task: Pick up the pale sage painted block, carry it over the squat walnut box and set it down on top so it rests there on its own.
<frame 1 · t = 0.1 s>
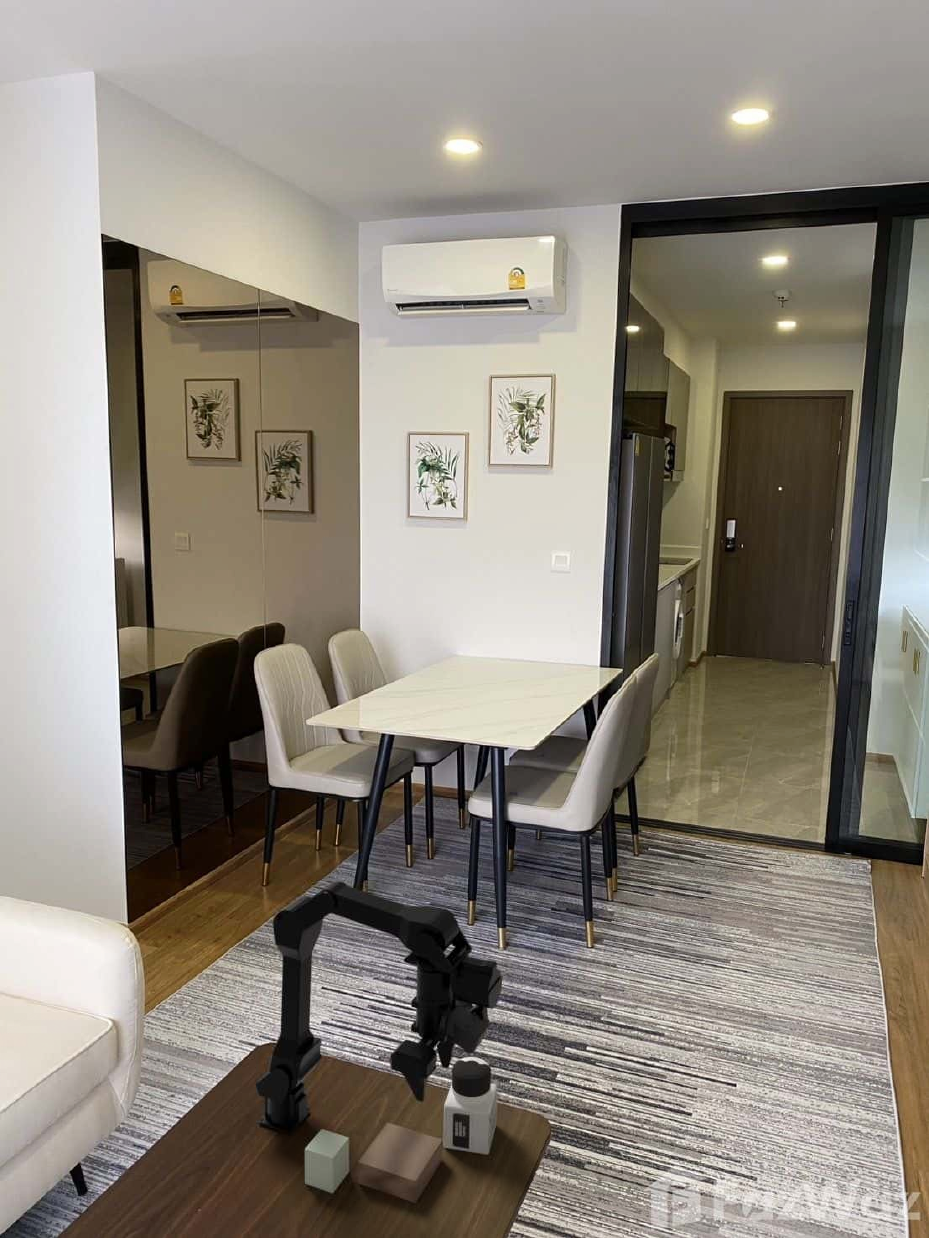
hand: (433, 1083, 147), 15 cm above the table, fingers open, 9 cm apart
sage block: (327, 1177, 146), on the table
walnut box: (400, 1173, 148), on the table
container: (470, 1137, 156), on the table
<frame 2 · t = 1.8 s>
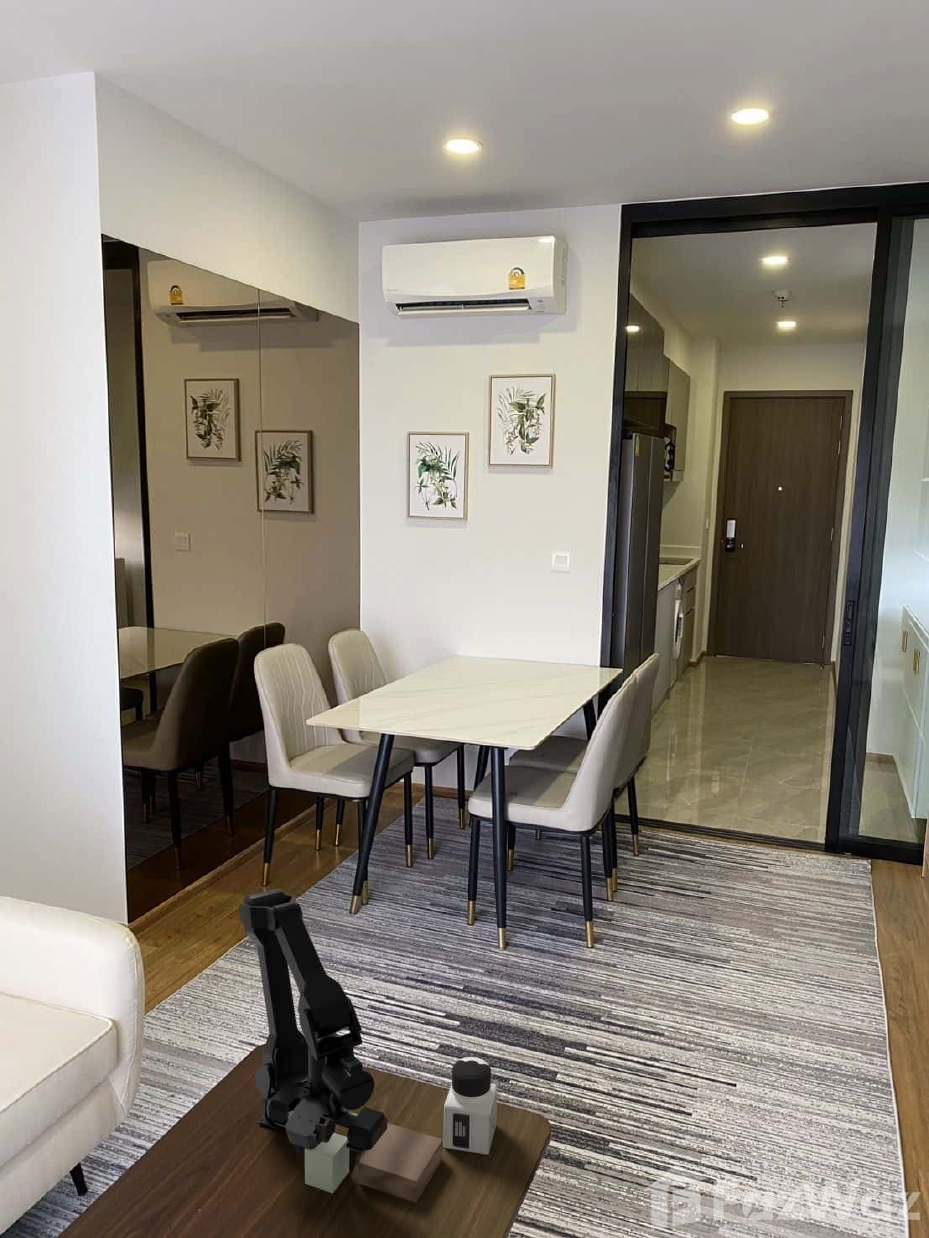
hand: (327, 1164, 146), 2 cm above the table, fingers open, 9 cm apart
walnut box: (401, 1173, 148), on the table, touching gripper
everything else where it was.
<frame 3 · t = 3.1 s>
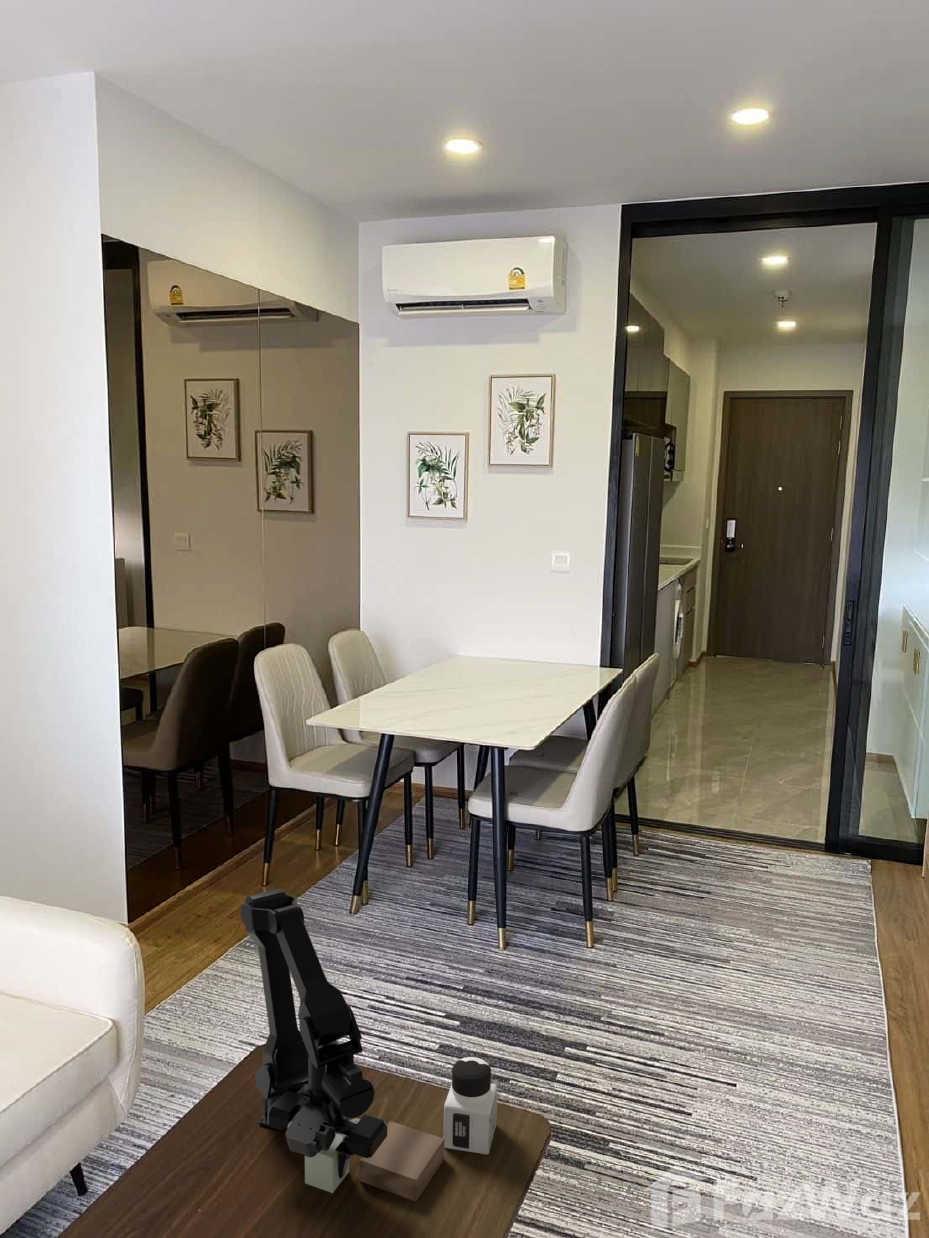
hand: (327, 1171, 146), 1 cm above the table, fingers closed on sage block, 5 cm apart
sage block: (327, 1177, 146), on the table, touching gripper
walnut box: (402, 1171, 148), on the table
everything else where it was.
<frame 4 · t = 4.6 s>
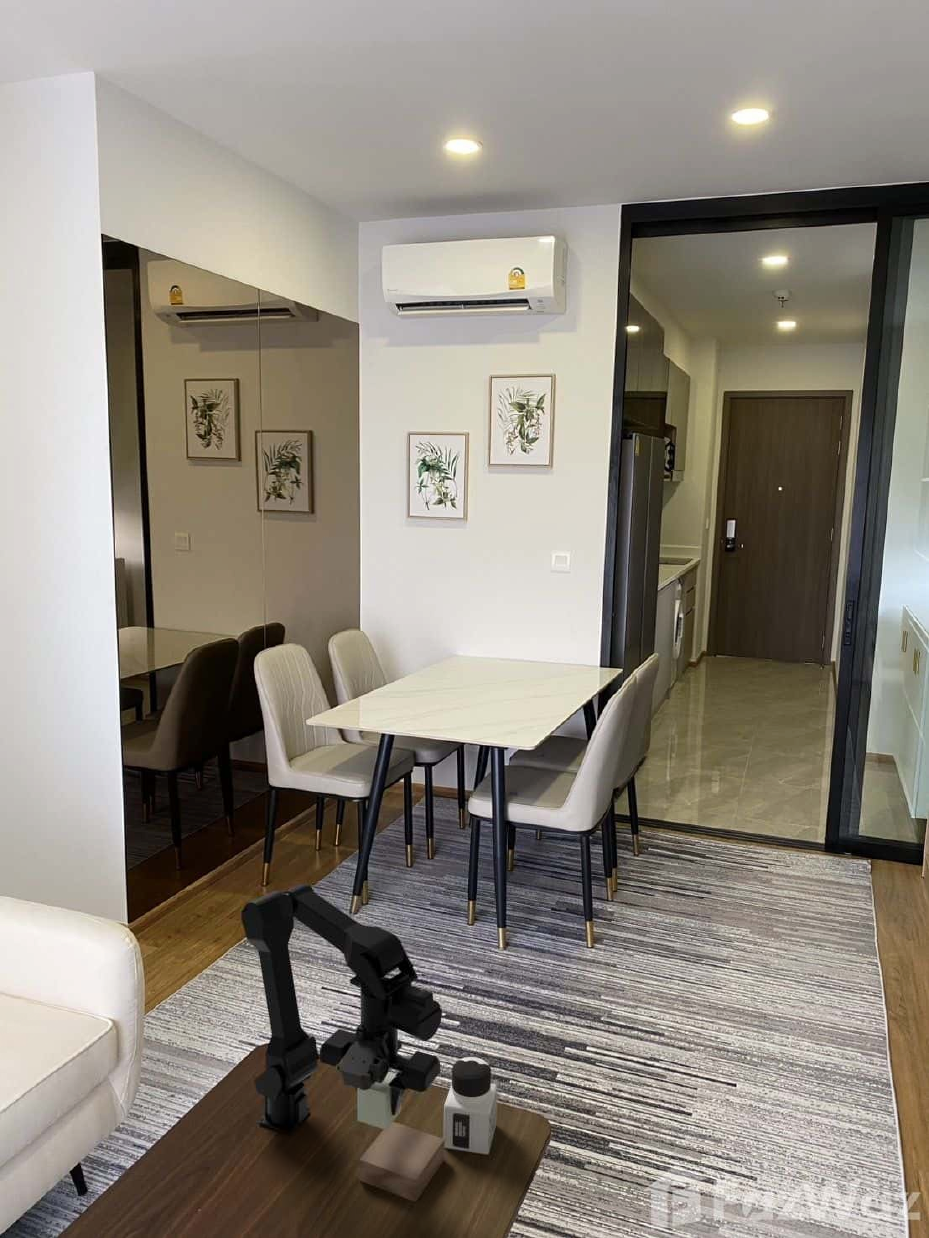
hand: (379, 1109, 145), 11 cm above the table, fingers closed on sage block, 5 cm apart
sage block: (379, 1115, 145), point 10 cm above the table, touching gripper
everything else where it was.
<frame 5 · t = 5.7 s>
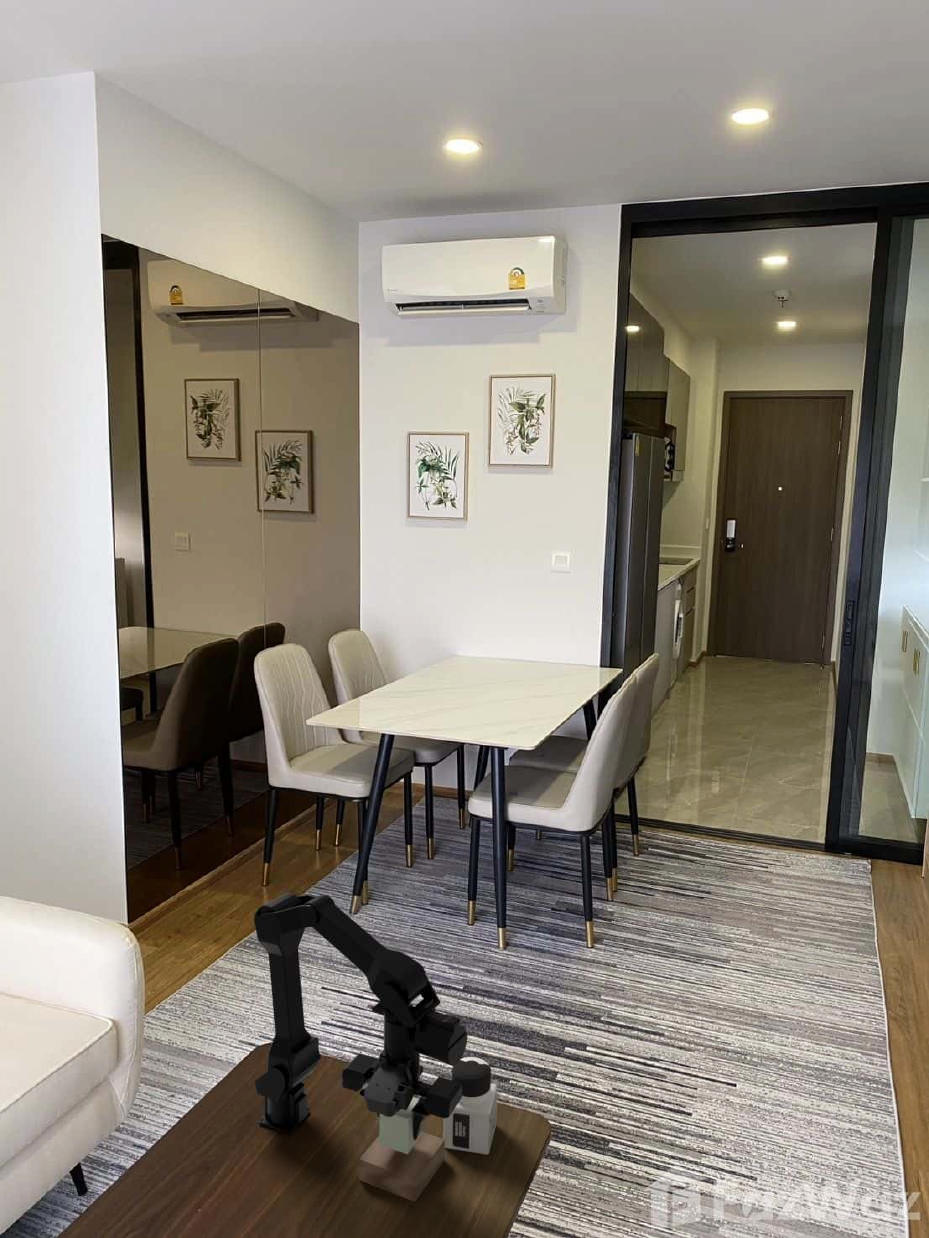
hand: (400, 1133, 147), 7 cm above the table, fingers closed on sage block, 5 cm apart
sage block: (400, 1139, 147), point 6 cm above the table, touching gripper
everything else where it was.
when the fingers open (6 cm above the table, at t = 6.4 s): sage block drops 2 cm, resting on walnut box.
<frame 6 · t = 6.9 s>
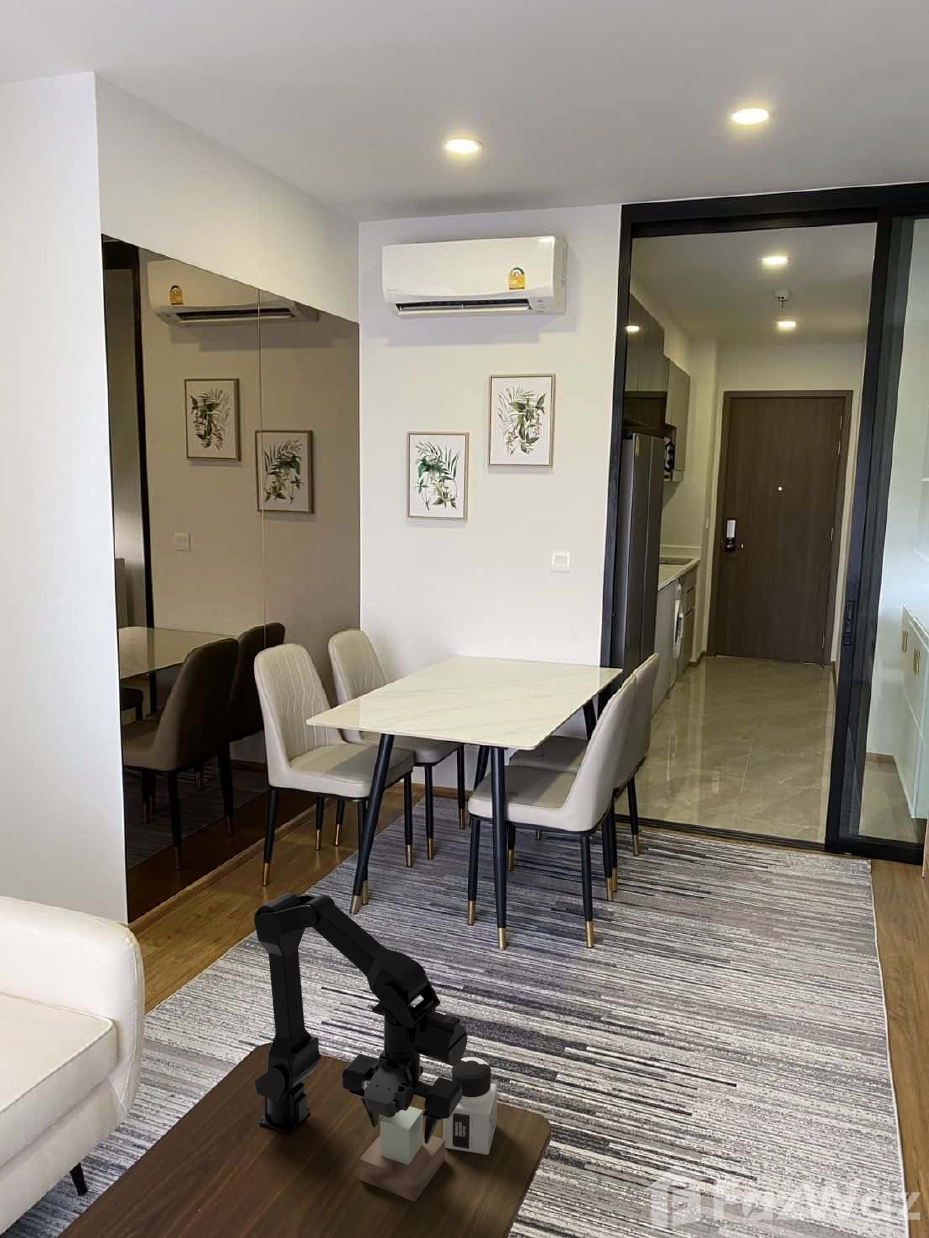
hand: (401, 1133, 147), 6 cm above the table, fingers open, 9 cm apart
sage block: (401, 1149, 147), point 4 cm above the table, touching walnut box
walnut box: (402, 1171, 148), on the table, touching sage block
everything else where it was.
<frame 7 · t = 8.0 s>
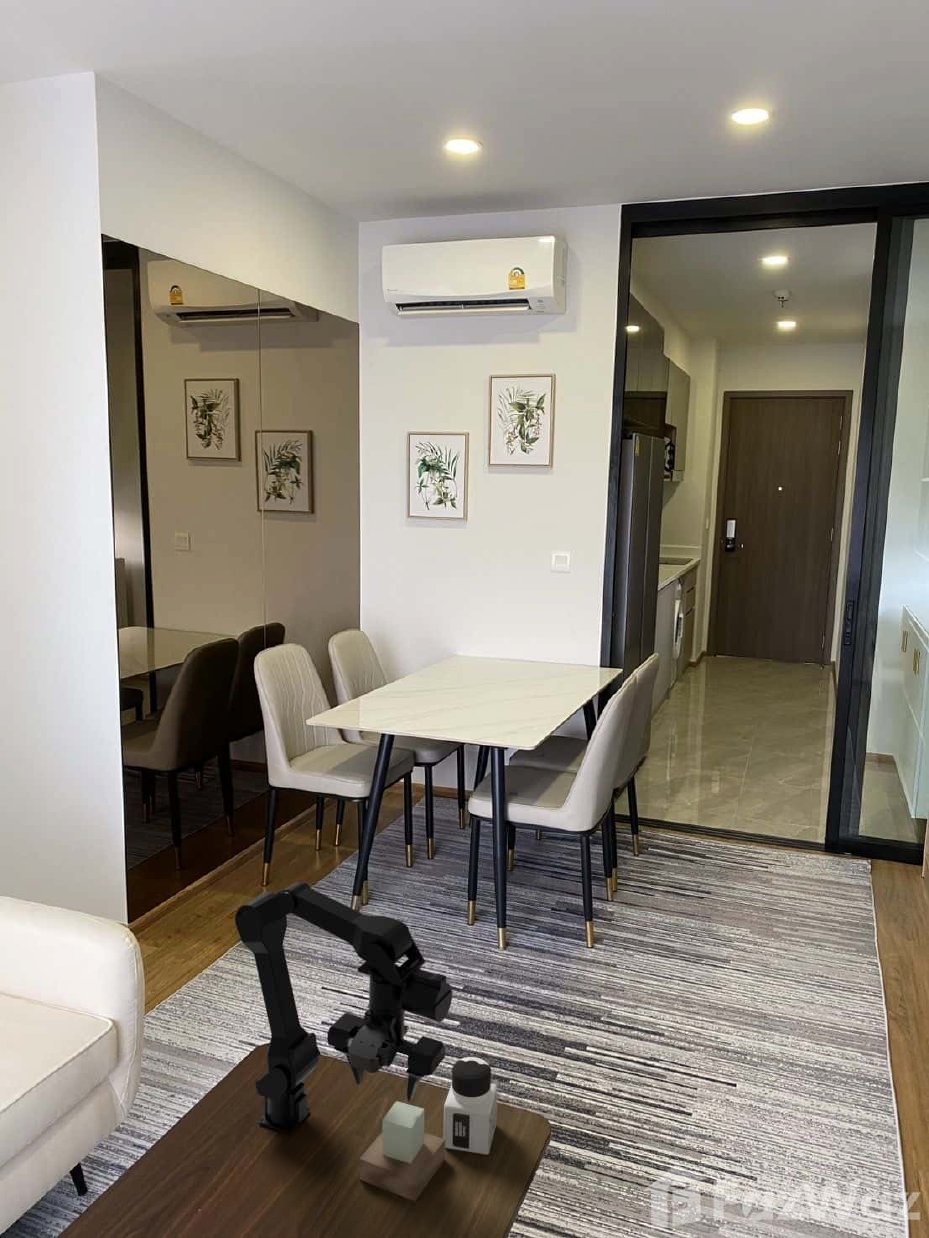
hand: (384, 1091, 149), 12 cm above the table, fingers open, 9 cm apart
sage block: (403, 1148, 148), point 4 cm above the table
walnut box: (402, 1171, 148), on the table
everything else where it was.
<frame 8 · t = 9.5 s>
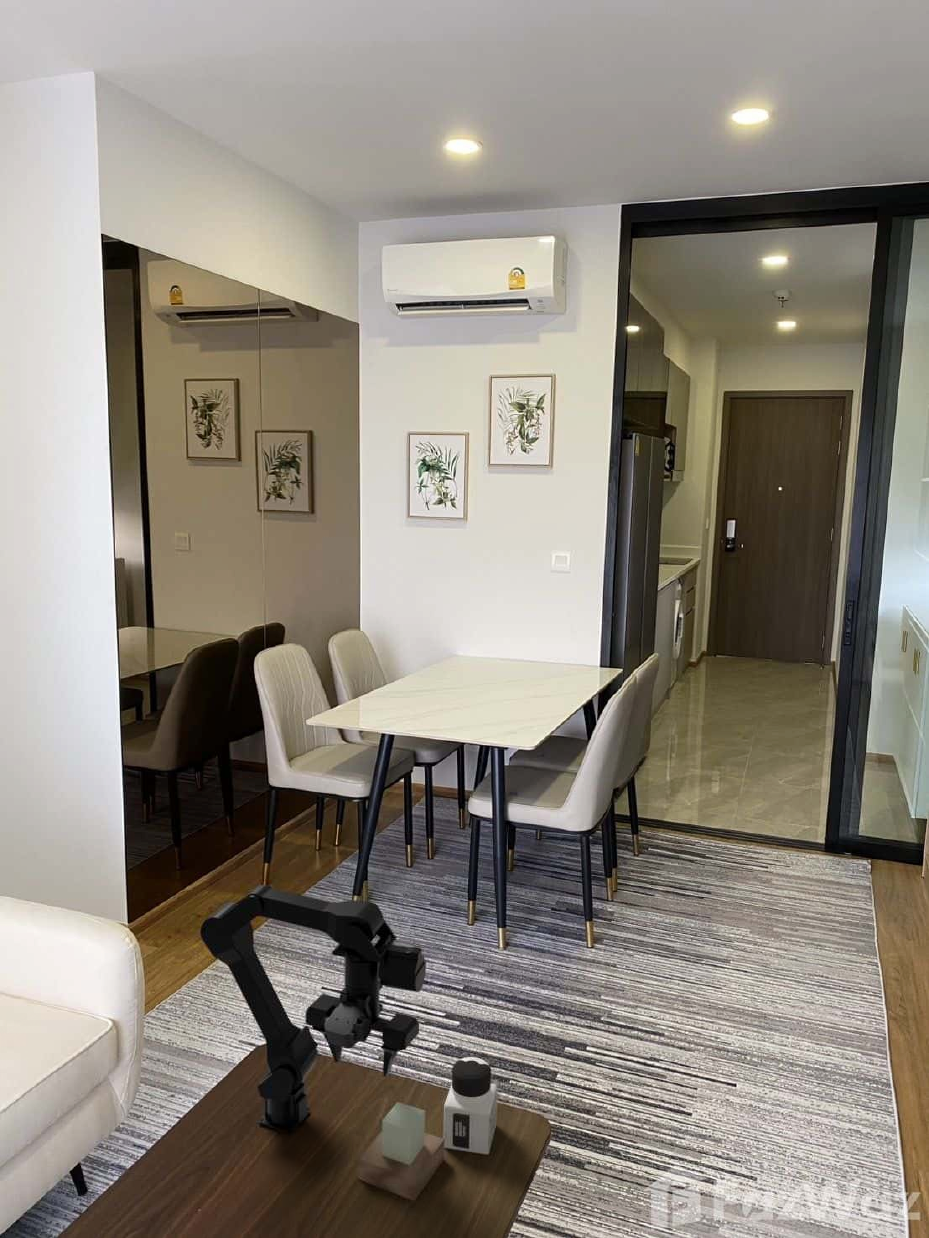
hand: (361, 1068, 154), 12 cm above the table, fingers open, 9 cm apart
nothing on the table moved.
at the end: sage block inside the target area on the walnut box (0.3 cm from its centre), point 4.0 cm above the walnut box's base; sage block tilted 0°; the gripper is holding nothing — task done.
